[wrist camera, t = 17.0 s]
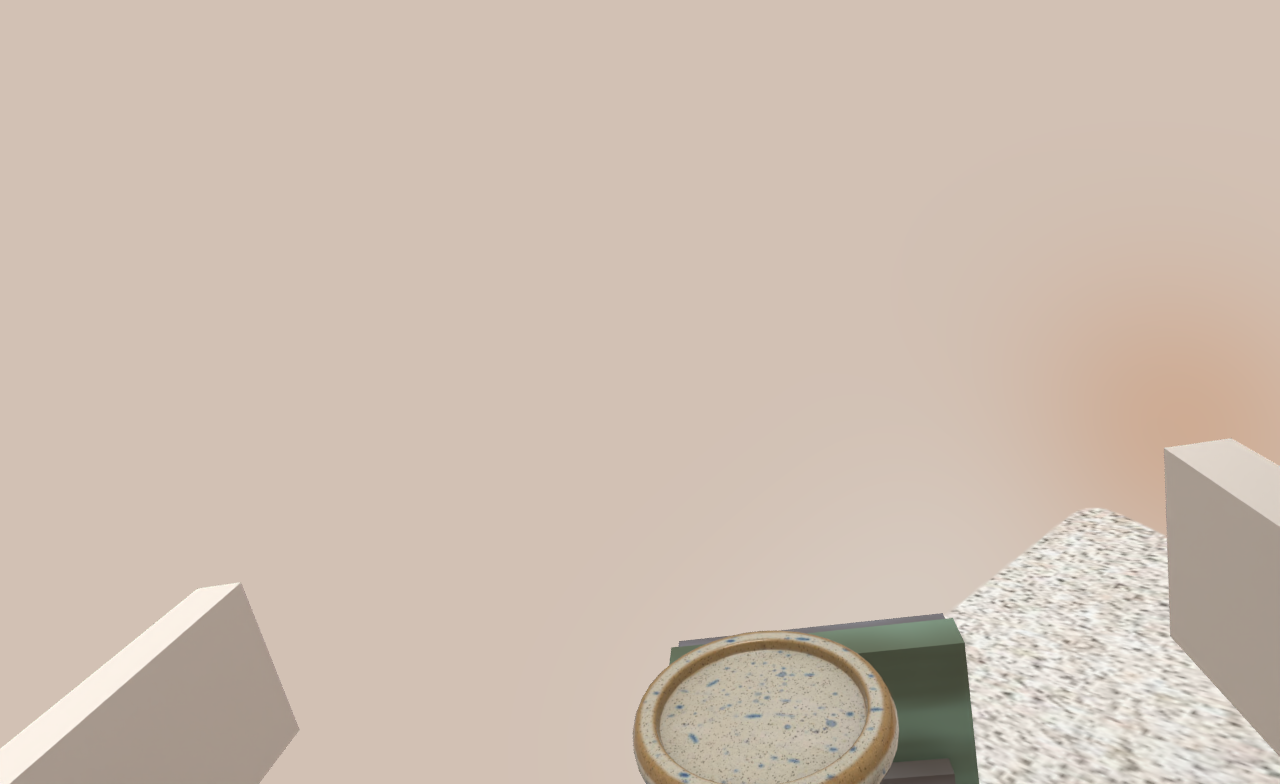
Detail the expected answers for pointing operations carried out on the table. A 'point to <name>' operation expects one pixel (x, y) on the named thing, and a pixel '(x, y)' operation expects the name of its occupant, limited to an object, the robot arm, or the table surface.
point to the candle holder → (767, 715)
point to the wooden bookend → (913, 692)
